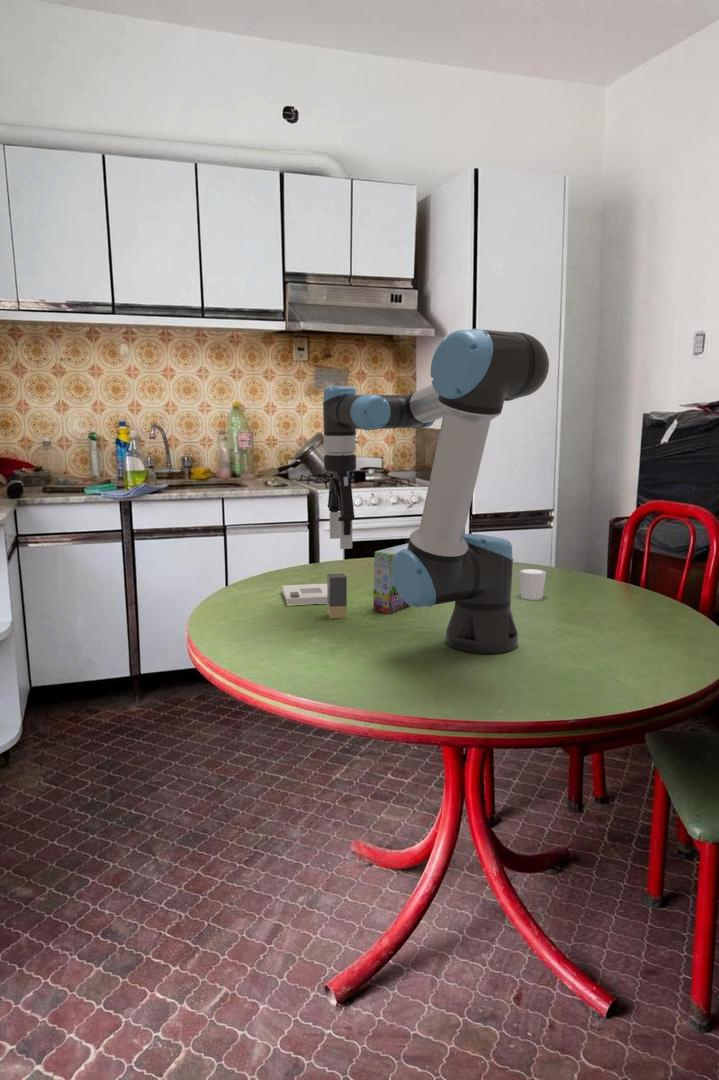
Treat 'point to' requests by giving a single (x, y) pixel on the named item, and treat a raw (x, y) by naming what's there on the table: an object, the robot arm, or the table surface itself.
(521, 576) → the white cup
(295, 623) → the table surface
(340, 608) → the plug
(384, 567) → the snack box
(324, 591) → the socket plate
